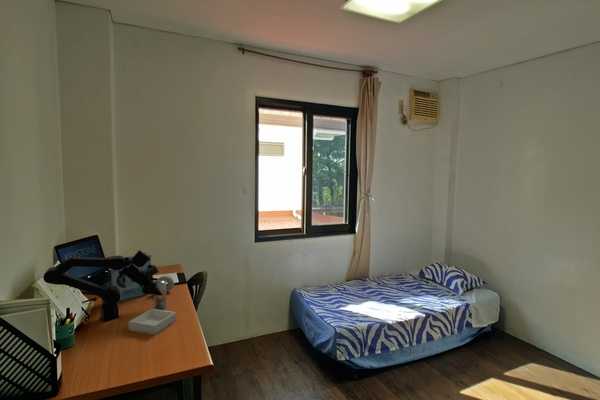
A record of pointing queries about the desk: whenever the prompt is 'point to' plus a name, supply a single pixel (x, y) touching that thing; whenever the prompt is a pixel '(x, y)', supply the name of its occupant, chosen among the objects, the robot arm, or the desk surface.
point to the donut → (168, 280)
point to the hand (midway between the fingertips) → (160, 291)
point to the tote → (152, 321)
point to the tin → (161, 300)
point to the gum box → (128, 283)
